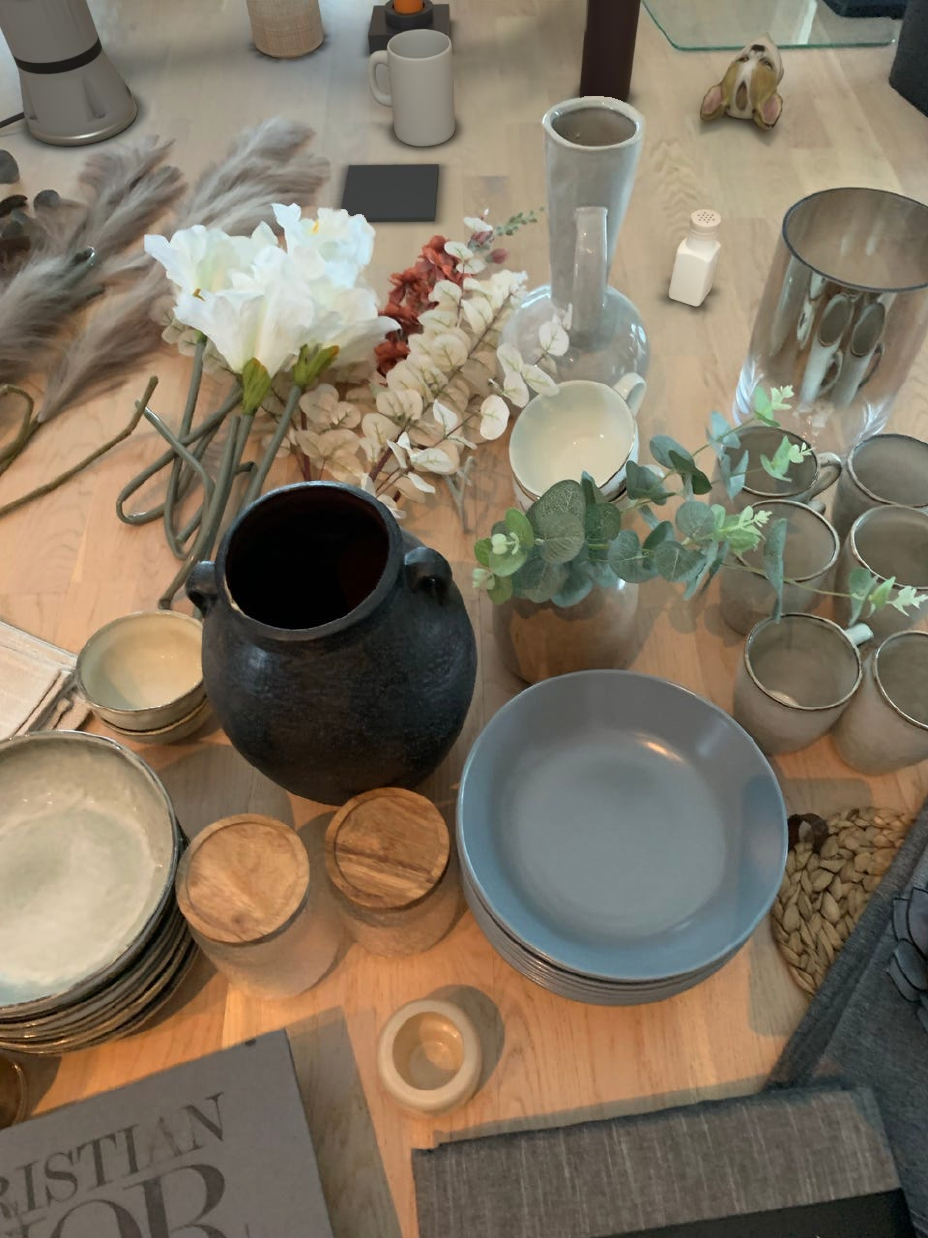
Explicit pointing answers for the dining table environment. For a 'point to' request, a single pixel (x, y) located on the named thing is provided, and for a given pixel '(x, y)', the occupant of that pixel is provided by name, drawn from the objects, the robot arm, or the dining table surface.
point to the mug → (418, 86)
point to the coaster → (392, 192)
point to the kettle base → (405, 22)
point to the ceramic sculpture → (749, 86)
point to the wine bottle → (609, 47)
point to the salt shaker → (696, 259)
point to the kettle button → (408, 6)
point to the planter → (286, 26)
